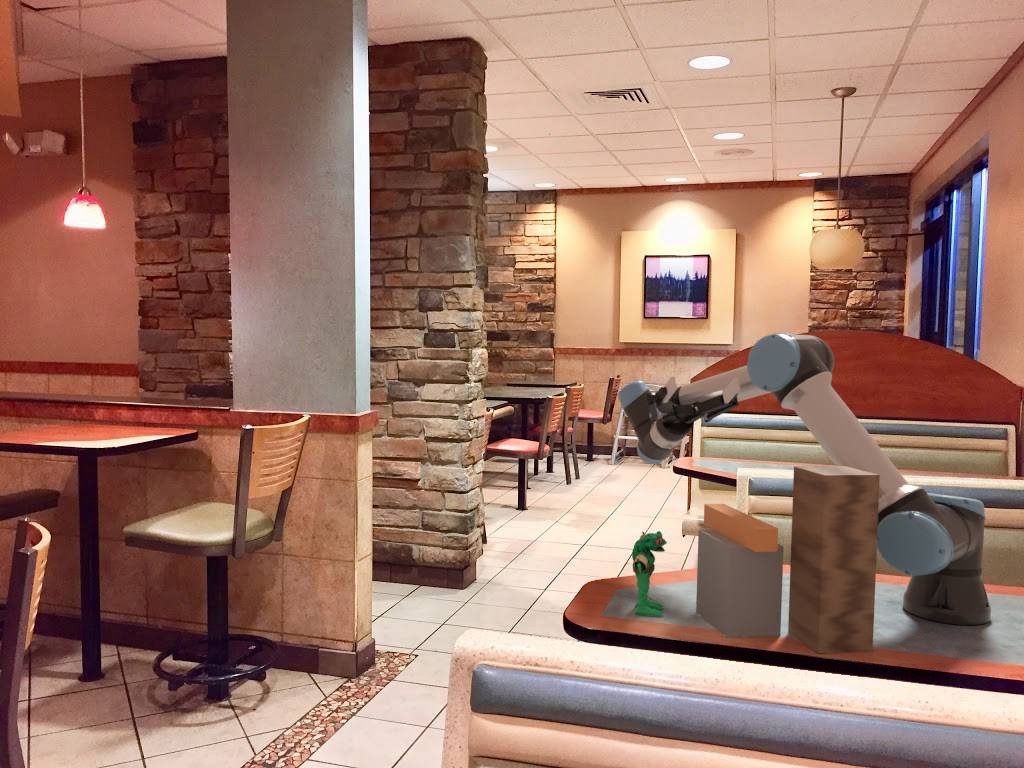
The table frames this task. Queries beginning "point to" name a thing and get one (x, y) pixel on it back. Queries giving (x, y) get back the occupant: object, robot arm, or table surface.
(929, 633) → the table surface
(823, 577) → the post
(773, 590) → the grey upright cuboid
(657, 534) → the toy
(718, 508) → the orange rectangular bar
